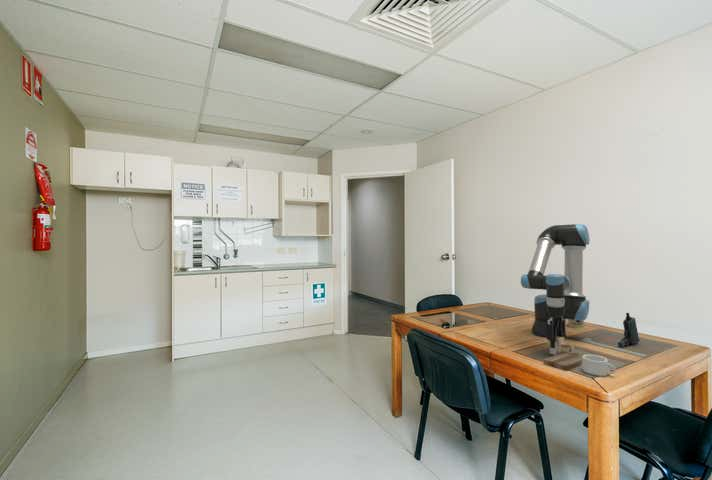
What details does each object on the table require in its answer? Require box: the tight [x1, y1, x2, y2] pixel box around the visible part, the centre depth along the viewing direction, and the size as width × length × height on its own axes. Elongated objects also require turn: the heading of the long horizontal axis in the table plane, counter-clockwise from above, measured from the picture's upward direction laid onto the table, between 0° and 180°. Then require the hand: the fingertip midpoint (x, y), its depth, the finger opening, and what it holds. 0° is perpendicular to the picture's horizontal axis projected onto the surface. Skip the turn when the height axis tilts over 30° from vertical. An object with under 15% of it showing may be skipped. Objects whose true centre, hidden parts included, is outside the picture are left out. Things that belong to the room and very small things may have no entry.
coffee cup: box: [567, 319, 585, 329], centre depth 208 cm, size 9×9×12 cm
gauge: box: [548, 336, 575, 356], centre depth 159 cm, size 10×5×8 cm, turn 31°
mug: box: [580, 354, 617, 377], centre depth 139 cm, size 12×10×6 cm
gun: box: [617, 312, 641, 349], centre depth 170 cm, size 3×17×15 cm
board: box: [543, 350, 584, 372], centre depth 151 cm, size 10×20×2 cm, turn 121°
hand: (557, 352), depth 161 cm, fingers closed on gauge, 5 cm apart
